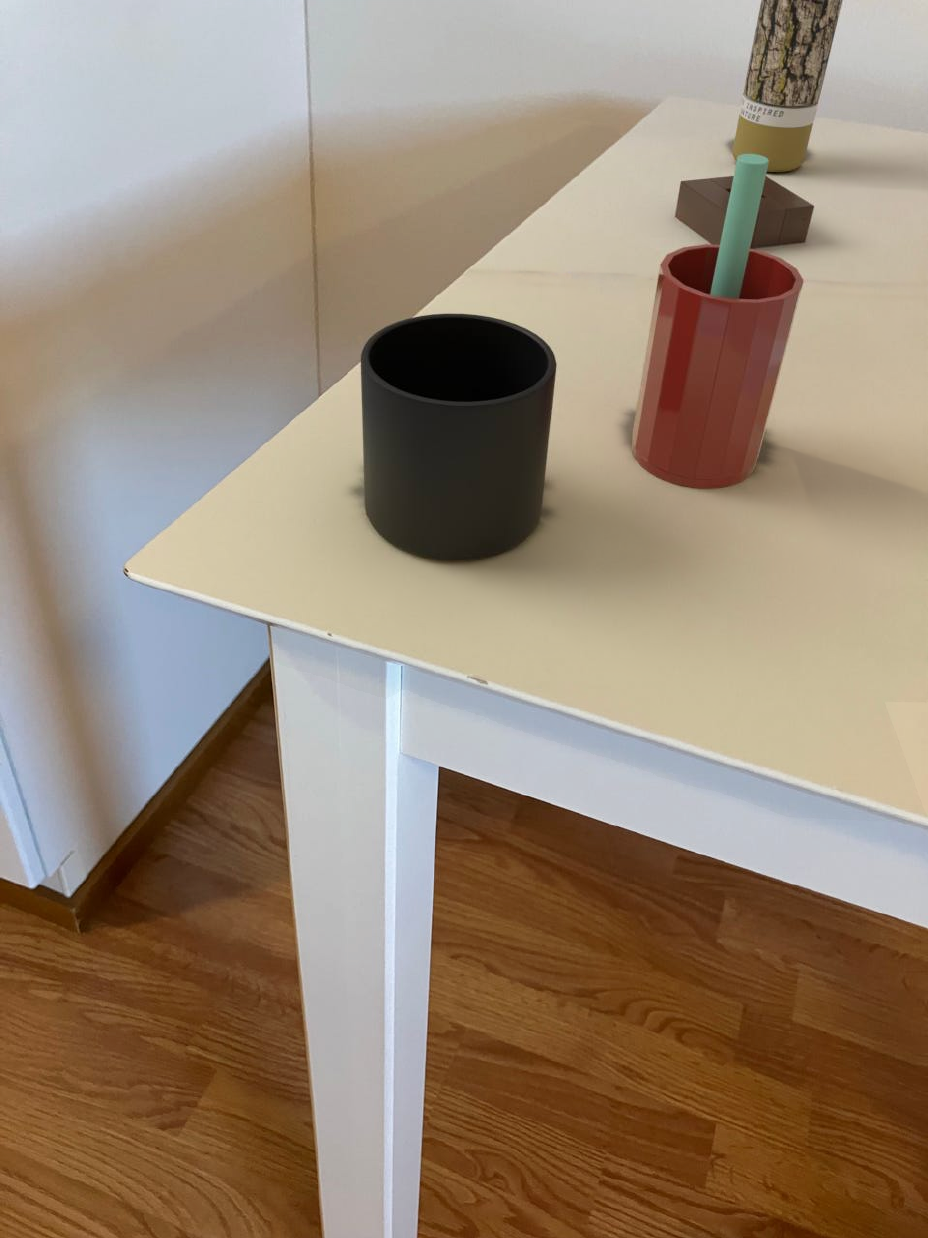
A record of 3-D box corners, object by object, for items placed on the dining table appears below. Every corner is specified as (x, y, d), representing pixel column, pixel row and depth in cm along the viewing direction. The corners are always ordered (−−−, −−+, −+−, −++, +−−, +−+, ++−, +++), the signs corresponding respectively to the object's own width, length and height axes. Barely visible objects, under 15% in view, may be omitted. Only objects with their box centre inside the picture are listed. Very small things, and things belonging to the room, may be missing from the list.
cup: (741, 423, 65) (784, 246, 58) (768, 490, 60) (818, 304, 53) (624, 419, 65) (652, 241, 58) (640, 486, 60) (673, 299, 52)
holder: (751, 220, 90) (761, 172, 88) (802, 256, 85) (814, 205, 83) (672, 229, 88) (680, 180, 86) (719, 266, 83) (729, 214, 80)
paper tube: (789, 180, 98) (866, -153, 82) (720, 164, 101) (781, -162, 85) (812, 160, 103) (889, -160, 86) (745, 145, 105) (808, -168, 89)
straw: (704, 436, 63) (765, 153, 52) (708, 450, 62) (772, 164, 51) (678, 436, 63) (734, 152, 52) (683, 450, 62) (741, 163, 51)
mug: (538, 441, 63) (552, 294, 57) (543, 568, 54) (560, 410, 48) (377, 434, 63) (374, 286, 57) (355, 559, 54) (349, 399, 48)
